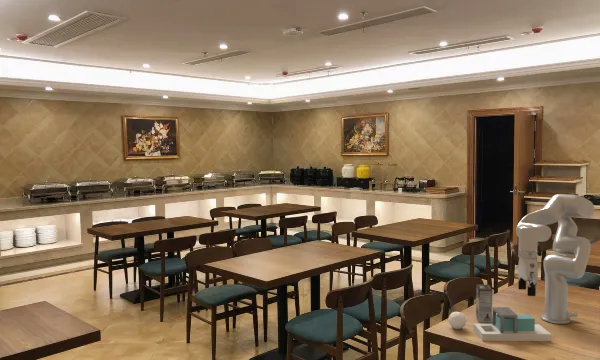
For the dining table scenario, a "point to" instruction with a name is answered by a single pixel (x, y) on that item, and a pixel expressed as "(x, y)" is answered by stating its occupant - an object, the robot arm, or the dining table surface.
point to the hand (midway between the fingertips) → (526, 292)
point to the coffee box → (484, 303)
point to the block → (522, 323)
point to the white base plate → (511, 334)
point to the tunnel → (503, 313)
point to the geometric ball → (457, 320)
